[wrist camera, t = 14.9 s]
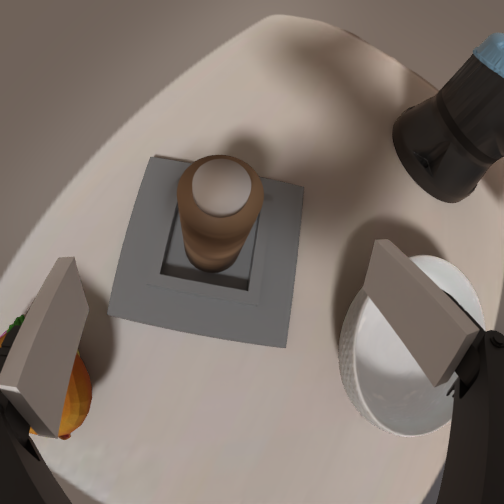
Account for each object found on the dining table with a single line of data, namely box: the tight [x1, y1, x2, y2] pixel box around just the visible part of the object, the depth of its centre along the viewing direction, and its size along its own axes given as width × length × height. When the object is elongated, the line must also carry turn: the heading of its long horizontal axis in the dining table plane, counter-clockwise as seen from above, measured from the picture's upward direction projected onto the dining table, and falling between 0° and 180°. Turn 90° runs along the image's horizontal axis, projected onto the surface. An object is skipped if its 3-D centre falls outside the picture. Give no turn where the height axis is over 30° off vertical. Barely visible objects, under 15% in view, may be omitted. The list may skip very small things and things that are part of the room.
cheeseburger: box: [0, 315, 92, 440], centre depth 20 cm, size 10×11×10 cm
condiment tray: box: [107, 157, 304, 348], centre depth 28 cm, size 16×16×2 cm
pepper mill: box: [177, 155, 264, 273], centre depth 22 cm, size 5×5×12 cm
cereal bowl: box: [338, 255, 486, 437], centre depth 26 cm, size 17×17×7 cm
